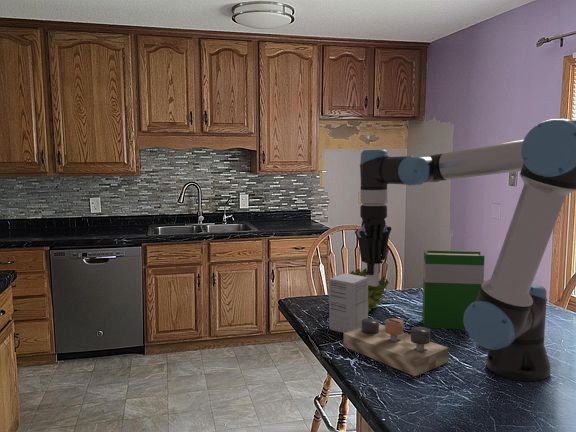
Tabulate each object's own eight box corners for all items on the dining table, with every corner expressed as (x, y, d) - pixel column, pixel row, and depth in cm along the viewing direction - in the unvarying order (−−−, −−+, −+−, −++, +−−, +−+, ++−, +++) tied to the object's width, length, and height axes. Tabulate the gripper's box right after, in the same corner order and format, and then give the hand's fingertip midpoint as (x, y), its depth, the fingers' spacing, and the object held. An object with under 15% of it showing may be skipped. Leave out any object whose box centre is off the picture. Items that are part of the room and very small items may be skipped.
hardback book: (477, 322, 169) (479, 251, 166) (481, 330, 162) (484, 256, 159) (422, 320, 172) (423, 250, 169) (424, 327, 165) (426, 254, 162)
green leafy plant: (332, 289, 195) (362, 260, 197) (362, 319, 192) (392, 289, 194) (336, 285, 177) (369, 253, 179) (368, 318, 174) (401, 286, 176)
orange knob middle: (406, 345, 143) (407, 320, 142) (394, 350, 140) (395, 324, 139) (392, 340, 147) (393, 316, 146) (381, 344, 144) (381, 320, 143)
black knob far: (382, 344, 150) (382, 321, 150) (370, 348, 147) (370, 325, 147) (369, 339, 154) (369, 317, 154) (358, 343, 151) (358, 320, 150)
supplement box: (344, 321, 172) (344, 272, 169) (368, 327, 166) (369, 276, 164) (328, 329, 164) (328, 278, 162) (352, 335, 158) (353, 282, 156)
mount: (448, 362, 138) (448, 347, 137) (415, 376, 129) (415, 361, 129) (376, 335, 158) (376, 323, 158) (343, 346, 150) (343, 333, 149)
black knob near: (433, 355, 136) (434, 330, 135) (421, 360, 133) (422, 334, 132) (418, 350, 140) (418, 325, 139) (406, 354, 137) (407, 329, 136)
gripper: (379, 201, 152) (378, 279, 155) (347, 205, 144) (348, 286, 147) (399, 203, 146) (398, 284, 149) (367, 207, 138) (367, 292, 141)
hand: (373, 285), depth 148 cm, fingers closed
